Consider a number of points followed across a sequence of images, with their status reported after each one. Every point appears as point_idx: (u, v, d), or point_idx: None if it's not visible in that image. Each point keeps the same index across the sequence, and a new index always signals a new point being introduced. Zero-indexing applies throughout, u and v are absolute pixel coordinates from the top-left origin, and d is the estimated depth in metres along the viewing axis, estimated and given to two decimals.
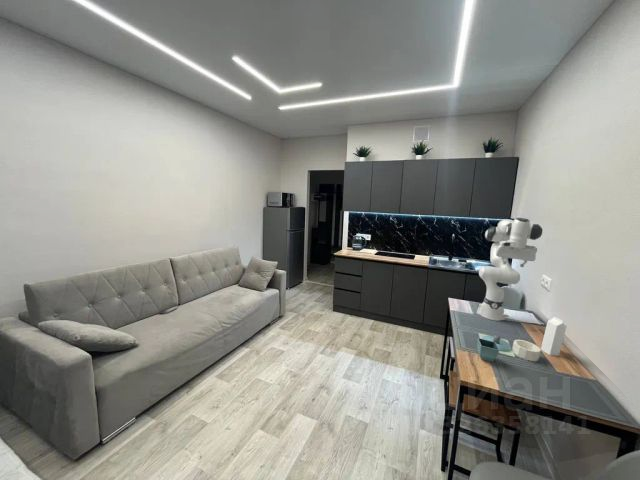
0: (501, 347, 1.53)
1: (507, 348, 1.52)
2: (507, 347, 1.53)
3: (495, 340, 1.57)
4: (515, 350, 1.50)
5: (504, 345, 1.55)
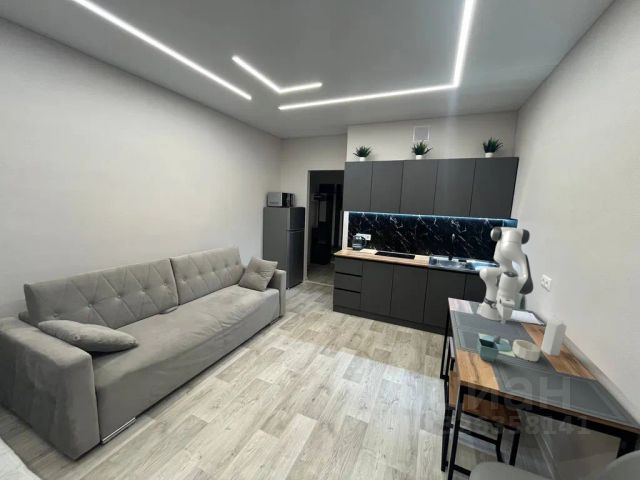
0: (501, 347, 1.53)
1: (507, 348, 1.52)
2: (507, 347, 1.53)
3: (495, 340, 1.57)
4: (515, 350, 1.50)
5: (504, 345, 1.55)
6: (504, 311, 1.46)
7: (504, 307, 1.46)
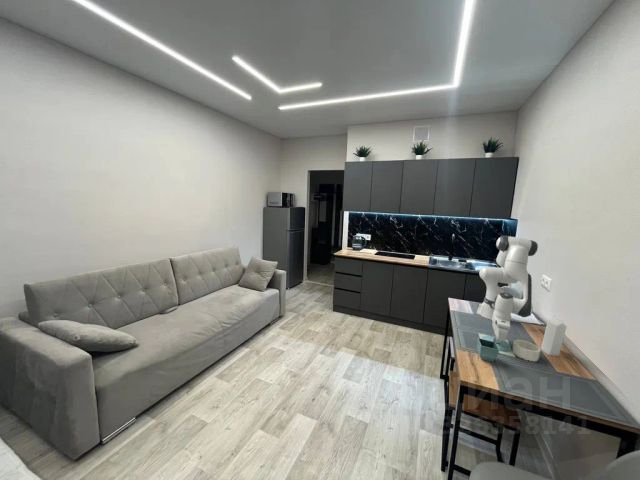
0: (501, 347, 1.53)
1: (507, 348, 1.52)
2: (507, 347, 1.53)
3: (495, 340, 1.57)
4: (515, 350, 1.50)
5: (504, 345, 1.55)
6: (499, 333, 1.48)
7: (499, 329, 1.49)
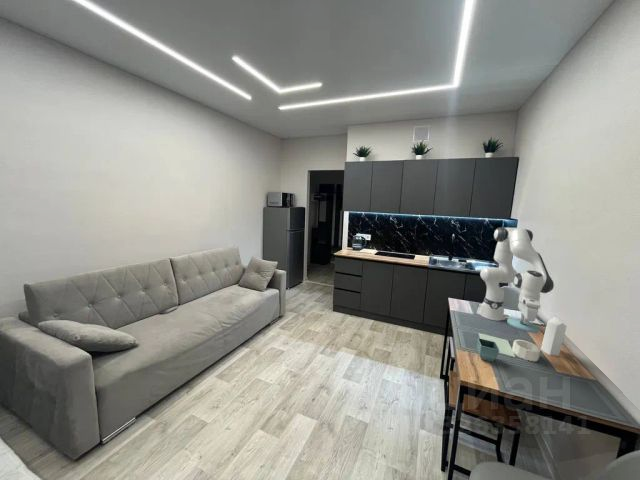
0: (529, 328, 1.44)
1: (536, 329, 1.43)
2: (536, 328, 1.44)
3: (522, 321, 1.48)
4: (515, 350, 1.50)
5: (532, 327, 1.46)
6: (528, 312, 1.39)
7: (528, 308, 1.40)
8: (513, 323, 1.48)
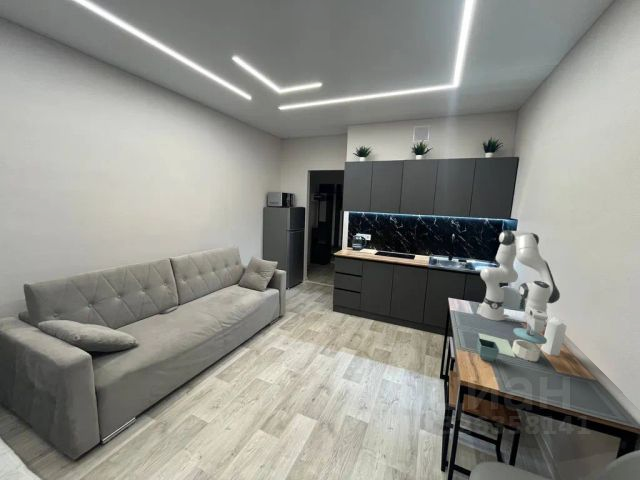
0: (536, 339, 1.42)
1: (543, 340, 1.42)
2: (543, 339, 1.43)
3: None
4: (515, 350, 1.50)
5: (539, 338, 1.45)
6: (536, 324, 1.38)
7: (536, 319, 1.38)
8: (519, 334, 1.47)
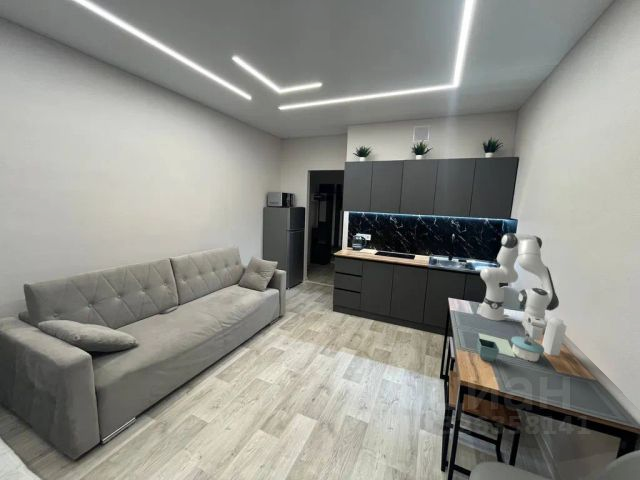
0: (534, 349, 1.44)
1: (540, 350, 1.43)
2: (540, 349, 1.44)
3: (526, 341, 1.48)
4: (515, 350, 1.50)
5: (537, 347, 1.46)
6: (534, 331, 1.39)
7: (534, 327, 1.39)
8: (517, 343, 1.48)
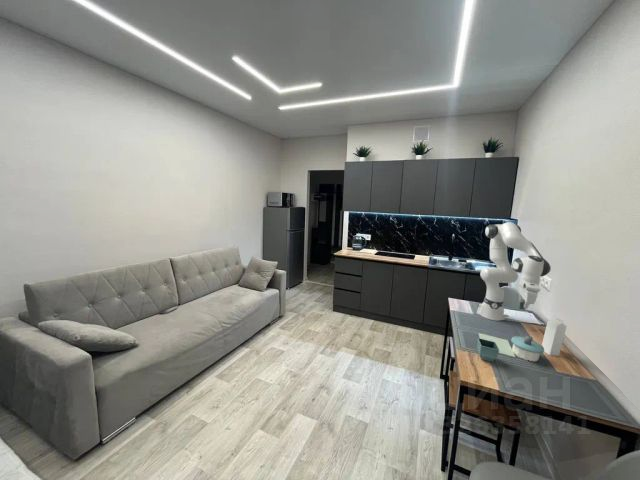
0: (534, 349, 1.44)
1: (540, 350, 1.43)
2: (540, 349, 1.44)
3: (526, 341, 1.48)
4: (515, 350, 1.50)
5: (537, 347, 1.46)
6: (528, 295, 1.44)
7: (528, 291, 1.45)
8: (517, 343, 1.48)
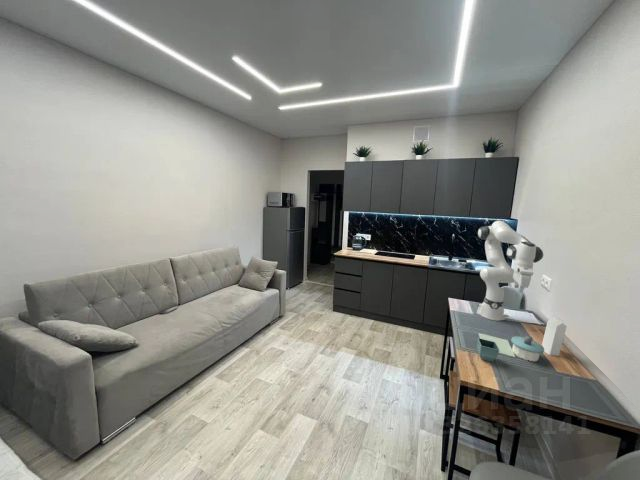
0: (534, 349, 1.44)
1: (540, 350, 1.43)
2: (540, 349, 1.44)
3: (526, 341, 1.48)
4: (515, 350, 1.50)
5: (537, 347, 1.46)
6: (522, 279, 1.49)
7: (522, 275, 1.50)
8: (517, 343, 1.48)
